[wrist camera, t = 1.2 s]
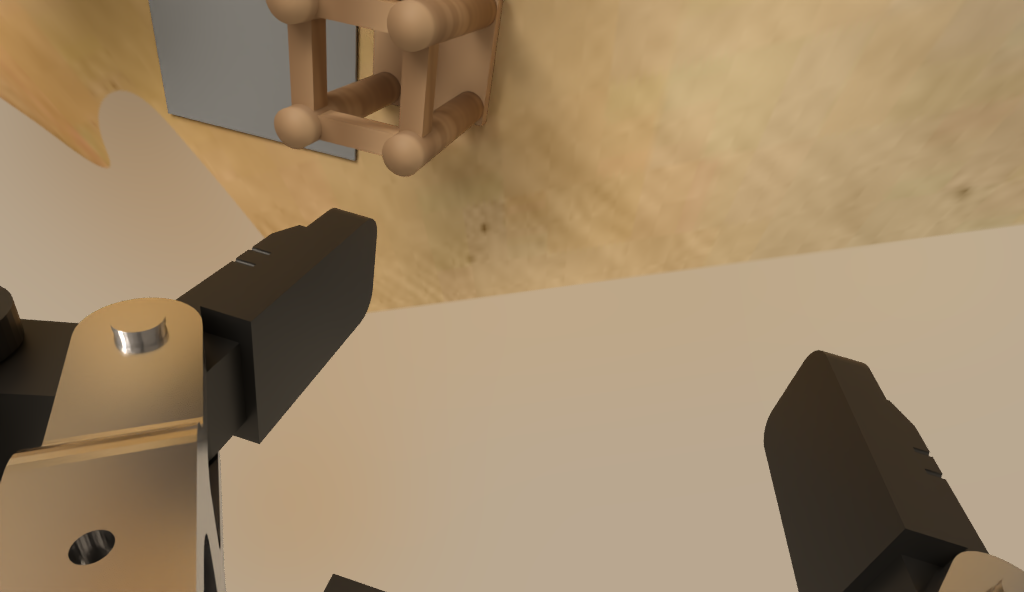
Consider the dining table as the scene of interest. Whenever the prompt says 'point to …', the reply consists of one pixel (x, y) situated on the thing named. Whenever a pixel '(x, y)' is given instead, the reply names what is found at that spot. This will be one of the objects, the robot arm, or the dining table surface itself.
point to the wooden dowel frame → (391, 75)
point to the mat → (239, 64)
